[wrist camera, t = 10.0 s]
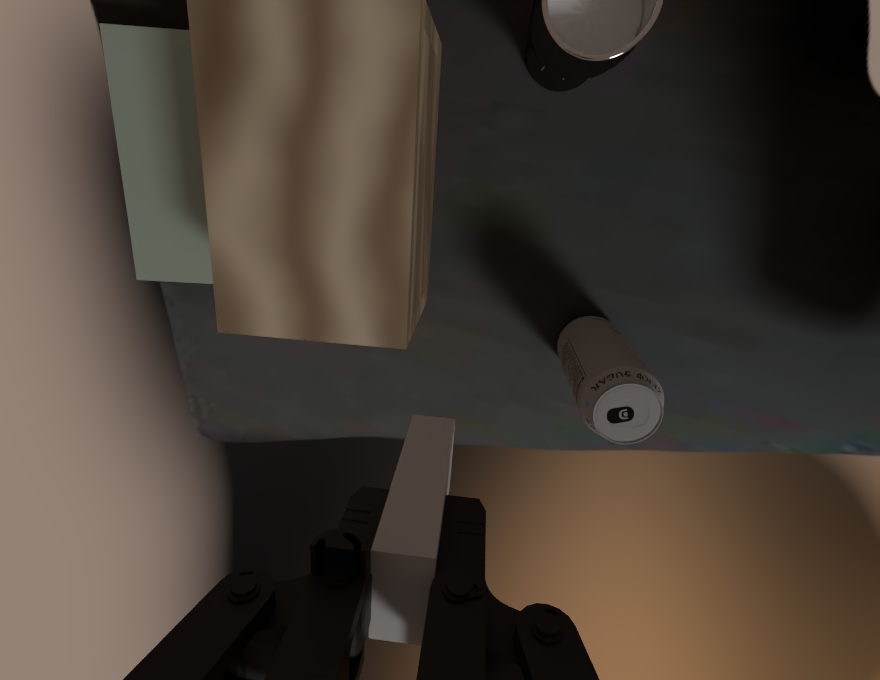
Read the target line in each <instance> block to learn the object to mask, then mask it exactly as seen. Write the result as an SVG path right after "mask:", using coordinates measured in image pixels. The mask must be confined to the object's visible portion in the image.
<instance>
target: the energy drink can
mask: <svg viewBox="0 0 880 680" xmlns="http://www.w3.org/2000/svg"><path fill="white" fill-rule="evenodd" d="M557 352H558V355H559V358H560V361H561V364H562V366H563V369H564V371H565V374H566V377H567V379H568V382H569V385H570V387H571V390H572V392H573V395H574V398H575V400H576V403H577V406H578V408H579V411H580V413H581V416H582V418H583V420H584V422H585V424H586V425H587V426H588V427H589V428H590V429H591V430H592V431H594V432H595V433H597V434H599V435H601V436H603V437H604V438H605V439H607V440H609V441H611V442H614V443H618V444H633V443H637V442H640V441H642V440H645V439H646V438H648V437H649V436H651V435H652V434H653V433H654V432H655V431H656V430H657V428H658V427H659V425H660V423H661V421H662V417H663V406H664V394H663V389H662V387H661V385H660V383H659V382H658V381H657V379H656V378H655V377H654V375H653V374H652V373H651V372H650V370H649V369H648V368H647V367H646V365H645V364H644V363H643V362H642V360H641V359H640V358H639V357H638V355H637V354H636V353H635V351H634V350H633V349H632V348H631V346H630V345H629V344H628V343H627V341H626V340H625V339H624V338H623V336H622V335H621V334H620V332H619V331H618V330H617V329H616V327H615V326H614V325H613V324H612V323H611V322H609V321H608V320H606V319H604V318H601V317H598V316H584V317H581V318H578V319H576V320H574V321H572V322H571V323H569V324H568V325H567V326H566V327H565V328H564V329H563V331H562V332H561V334H560V336H559V339H558V343H557Z"/></svg>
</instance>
